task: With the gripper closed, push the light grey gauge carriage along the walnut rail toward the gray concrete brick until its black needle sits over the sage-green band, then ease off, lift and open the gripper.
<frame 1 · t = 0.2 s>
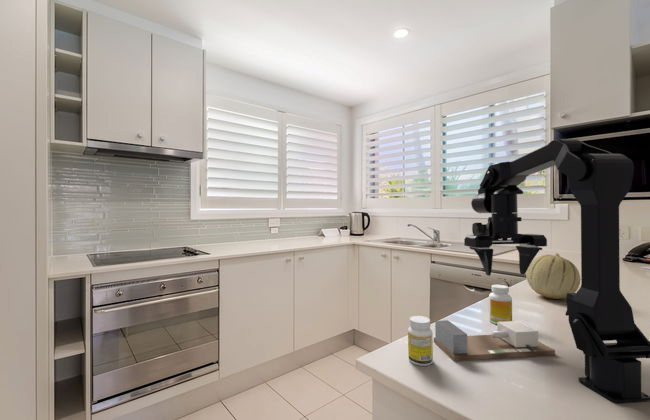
hand: (505, 274, 78), 14 cm above the counter, fingers open, 9 cm apart
cantaloupe: (552, 298, 104), on the counter
gray concrete brick: (450, 350, 66), resting on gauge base
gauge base: (491, 348, 67), on the counter
gauge carriage: (513, 335, 67), point 3 cm above the counter, slide at 0.0 cm
supplement bottle: (500, 323, 82), on the counter
supplement bottle 2: (420, 361, 62), on the counter
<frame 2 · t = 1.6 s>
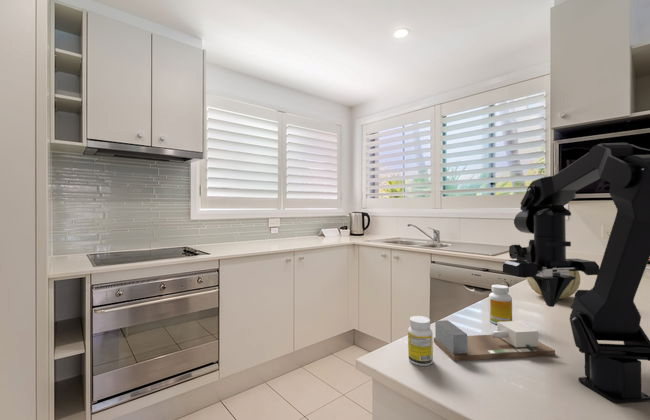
hand: (550, 306, 68), 9 cm above the counter, fingers closed
nothing on the counter moved.
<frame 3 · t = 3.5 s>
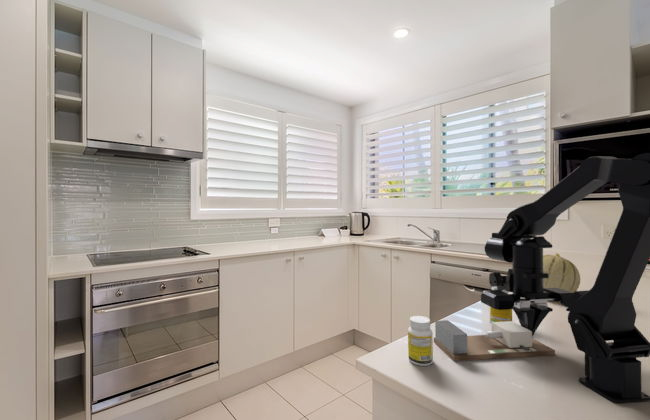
hand: (528, 336, 68), 2 cm above the counter, fingers closed
gauge carriage: (507, 336, 67), point 3 cm above the counter, slide at 1.4 cm, touching gripper
everything else where it was.
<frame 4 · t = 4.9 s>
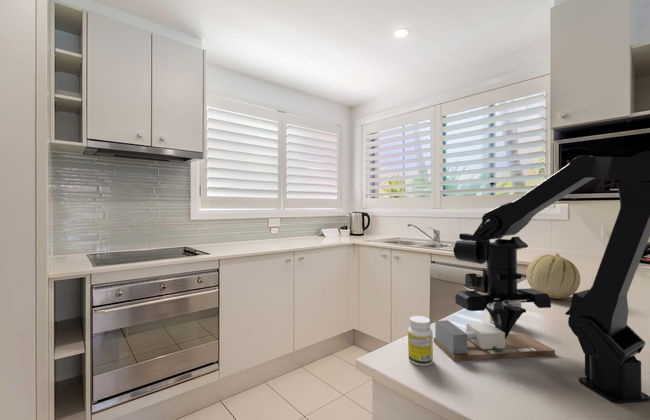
hand: (502, 338, 68), 2 cm above the counter, fingers closed
gauge carriage: (481, 337, 66), point 3 cm above the counter, slide at 7.4 cm, touching gripper
everything else where it was.
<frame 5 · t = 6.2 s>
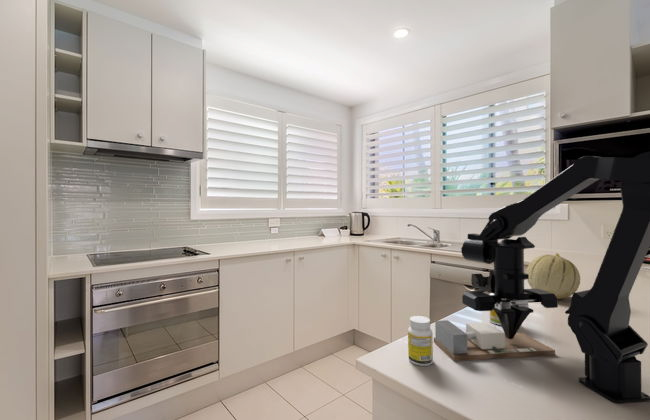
hand: (509, 338, 68), 2 cm above the counter, fingers closed
gauge carriage: (480, 337, 66), point 3 cm above the counter, slide at 7.5 cm
everything else where it was.
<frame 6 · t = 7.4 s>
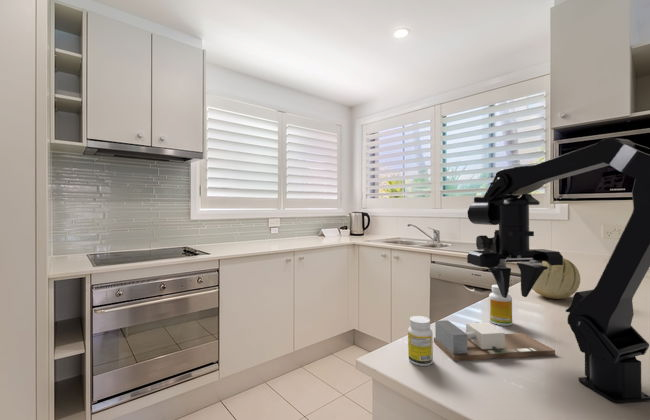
hand: (514, 296, 68), 11 cm above the counter, fingers open, 4 cm apart
nothing on the counter moved.
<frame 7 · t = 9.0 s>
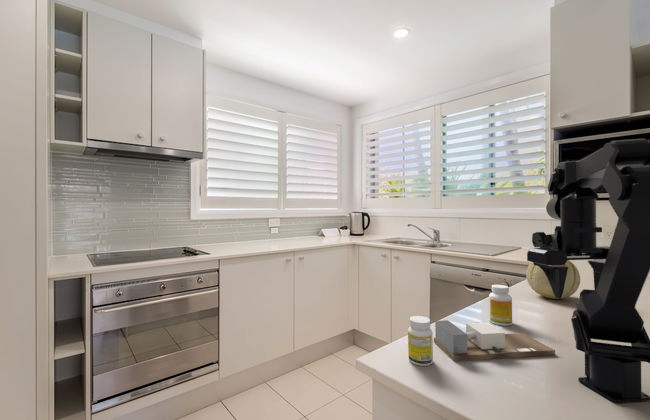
hand: (578, 297, 64), 12 cm above the counter, fingers open, 9 cm apart
nothing on the counter moved.
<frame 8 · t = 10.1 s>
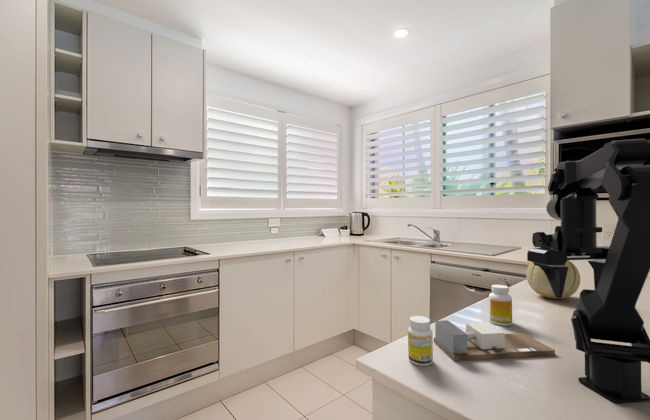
hand: (578, 297, 64), 12 cm above the counter, fingers open, 9 cm apart
nothing on the counter moved.
at the end: gauge carriage slide at 7.5 cm; supplement bottle moved 0.2 cm from its start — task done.
